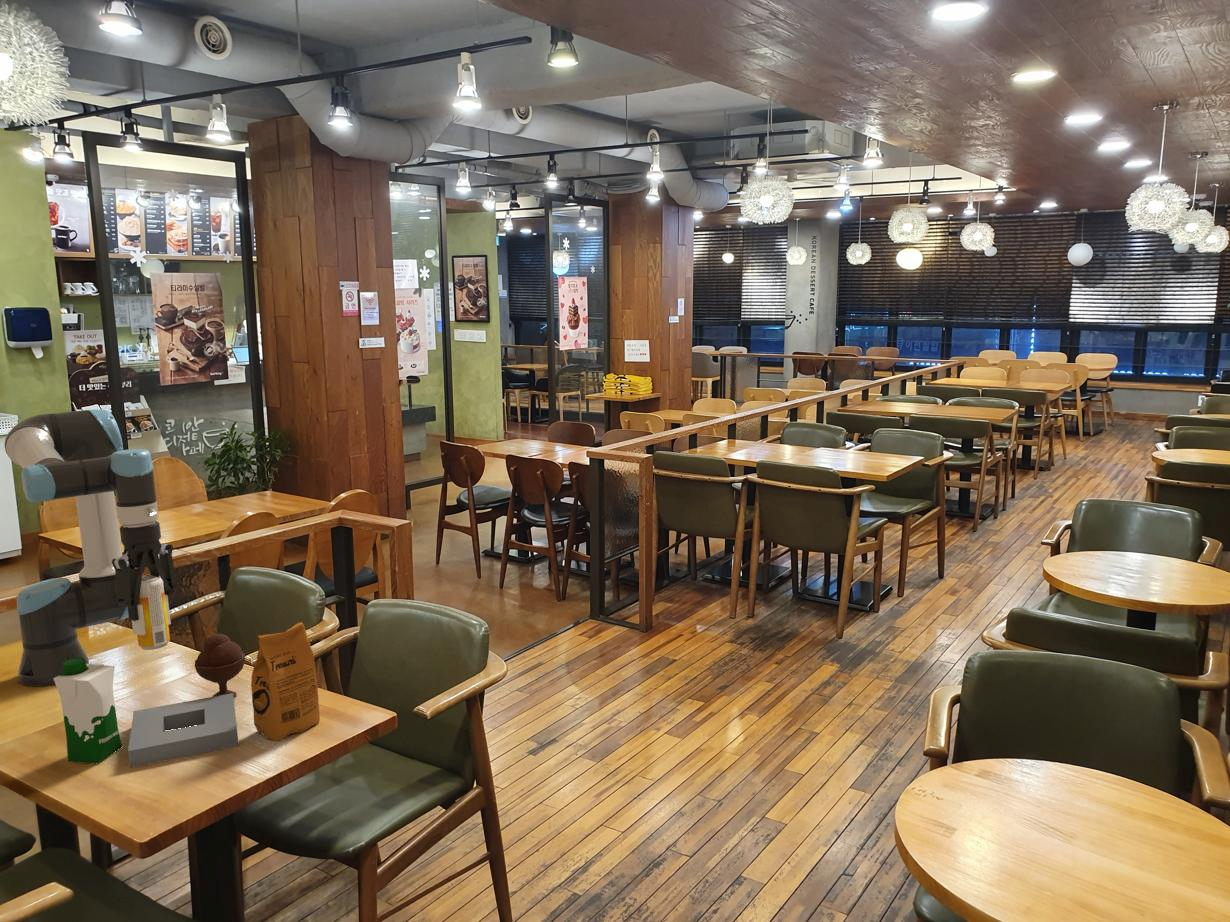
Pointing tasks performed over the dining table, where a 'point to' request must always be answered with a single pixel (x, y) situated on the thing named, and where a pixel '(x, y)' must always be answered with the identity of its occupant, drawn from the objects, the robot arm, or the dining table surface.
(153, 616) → the beer can
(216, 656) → the ice cream bowl
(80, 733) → the milk carton
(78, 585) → the robot arm
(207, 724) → the socket holder
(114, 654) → the dining table surface
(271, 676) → the coffee package
